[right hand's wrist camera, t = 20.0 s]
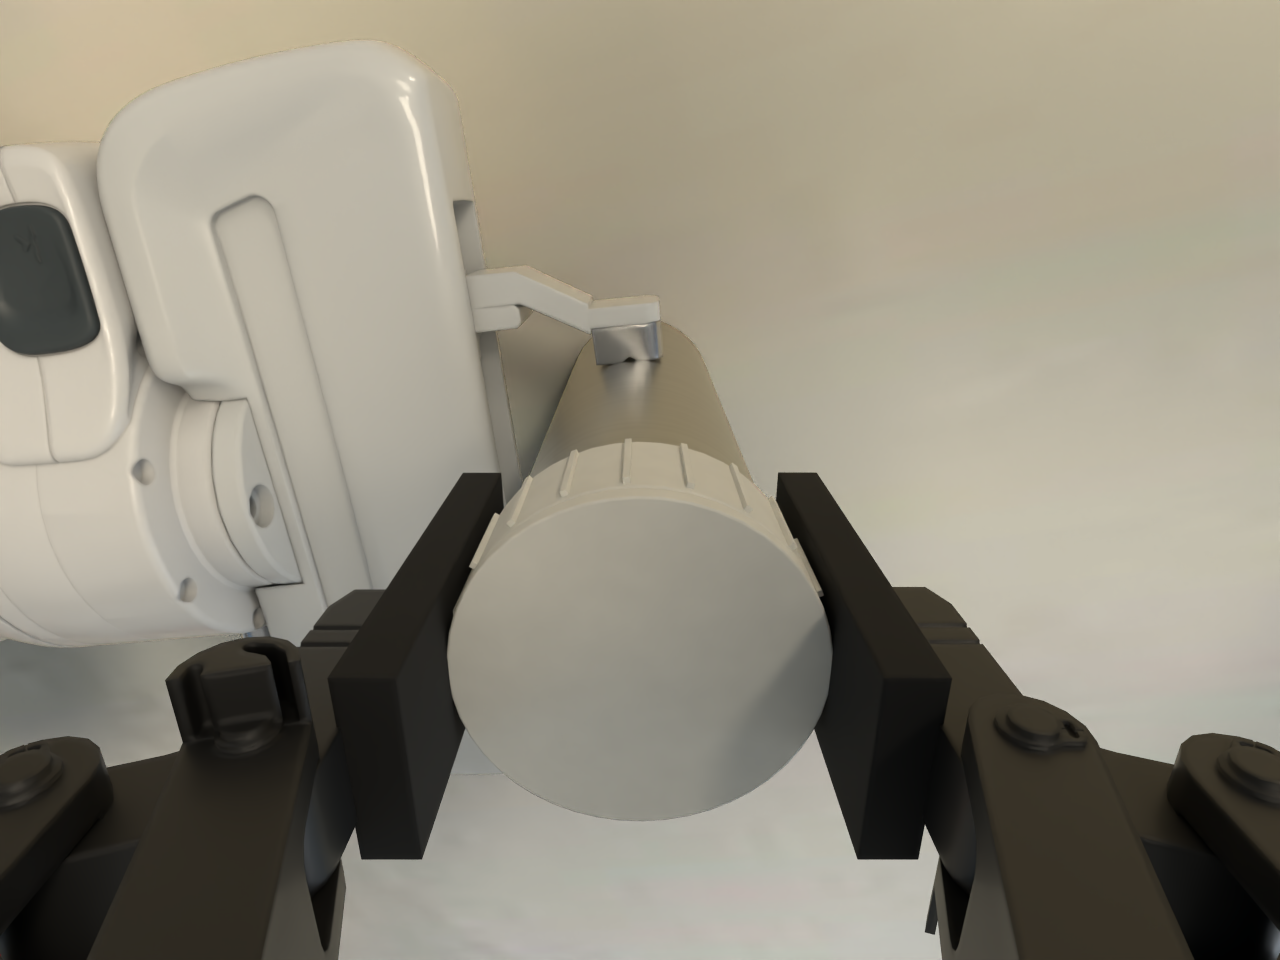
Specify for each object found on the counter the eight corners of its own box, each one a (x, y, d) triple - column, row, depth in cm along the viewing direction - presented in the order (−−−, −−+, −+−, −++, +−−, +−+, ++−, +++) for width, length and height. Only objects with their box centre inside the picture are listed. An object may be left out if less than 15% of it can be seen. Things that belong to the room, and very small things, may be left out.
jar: (727, 421, 27) (848, 718, 11) (606, 471, 27) (562, 815, 12) (677, 295, 25) (737, 440, 10) (548, 352, 26) (411, 571, 10)
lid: (411, 540, 12) (360, 615, 10) (703, 372, 11) (719, 414, 9) (589, 766, 14) (579, 873, 12) (855, 639, 13) (900, 730, 10)
